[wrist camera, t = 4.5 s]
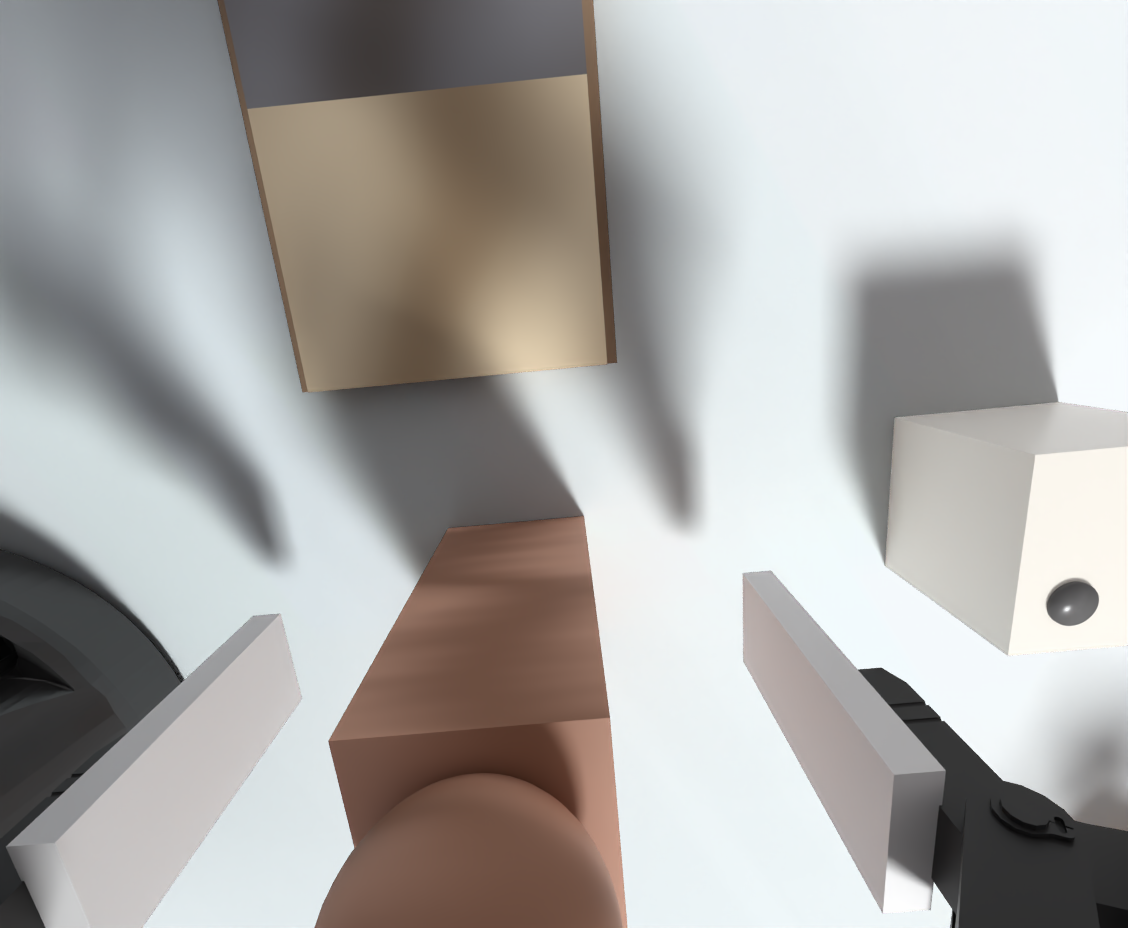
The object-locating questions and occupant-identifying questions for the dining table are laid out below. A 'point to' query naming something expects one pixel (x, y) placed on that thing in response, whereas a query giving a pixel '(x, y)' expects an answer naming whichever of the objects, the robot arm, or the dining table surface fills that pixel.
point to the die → (1016, 522)
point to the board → (429, 184)
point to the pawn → (484, 747)
